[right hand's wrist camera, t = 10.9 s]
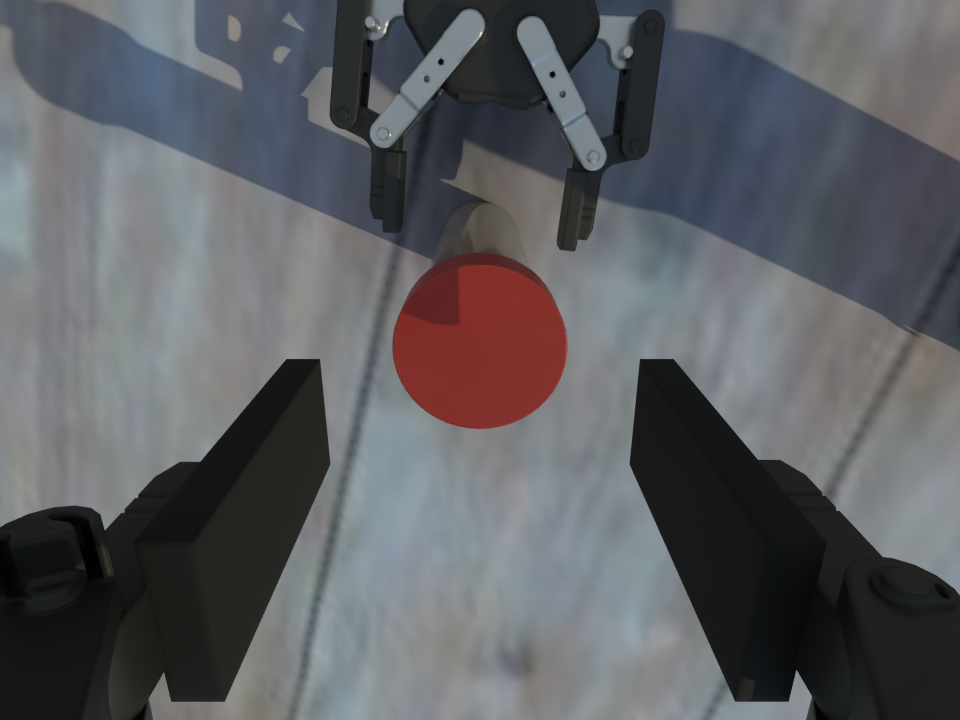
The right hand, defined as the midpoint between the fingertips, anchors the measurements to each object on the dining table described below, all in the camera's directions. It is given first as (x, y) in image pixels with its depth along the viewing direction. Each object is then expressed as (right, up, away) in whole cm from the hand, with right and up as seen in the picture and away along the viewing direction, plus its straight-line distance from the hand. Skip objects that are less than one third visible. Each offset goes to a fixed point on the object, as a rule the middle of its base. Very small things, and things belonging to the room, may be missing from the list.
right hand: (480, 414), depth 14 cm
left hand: (0, +7, +16) cm, 17 cm away
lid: (0, +2, +4) cm, 5 cm away
